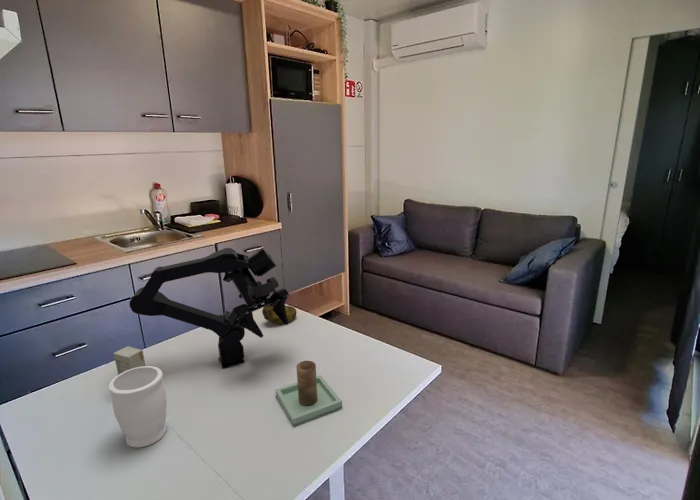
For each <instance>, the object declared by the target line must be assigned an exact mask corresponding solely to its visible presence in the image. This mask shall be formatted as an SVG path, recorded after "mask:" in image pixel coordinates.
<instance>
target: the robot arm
mask: <svg viewBox="0 0 700 500" xmlns="http://www.w3.org/2000/svg"><path fill="white" fill-rule="evenodd" d="M276 267H278V266H277V263H276V262H275V259H274V258H273V257H272V255H270V254H269V253H268V251H266V250H265V248H264V247H261V248H260V249H258V250H257V251H256V252H255V253H253V254H252V255H251V256H248V255H246V254H242V253H239V252H237V251H236V250H235V249H233V248H232V247H226V248H222V249H219V250H217V251H214V252H212V253H211V254H209V255H207V256H204V257H201V258H197V259H192V260H187V261H183V262H182V261H181V262H178V263H173V264H170V265H165V266H157V267H155V268H154V269H153V271H152V273H151V274H150V277H149V279H148V280H147V282H146V283H145V285H144V286H142V287H140V288H138V289H137V290H136V291H135V292H134V295H133V296H132V297H131V299H130V300H129V308H130V309H131V310H130V311H132V313H134V314H136V315H142V316H147V317H154V316H155V317H157V316H164V317H166V318H167V317H168V318H169V319H174V320H177V321H179V322H183V323H187V324H190V325H192V326H196V327H200V328H203V329H207V330H210V331H212V332H213V333H214V334H216V335H217V336H218V343H217V347H218V353H219V354H218V355H219V357H218V361H219V363H220V365H221V368H222V369H228V368H231V367H234V366H238V365H241V364H244V363H245V360H244V359H245V352H244V351H245V350H244V345H243V343H242V342H241V341H242V340H243V339H244V337H245V336H246V335H245V334H246V331H245V330H247V331H249V332H250V333H252V334H254V335H256V336H257V337H259V338H261V339H262V338H263V337H264V334H263V332H262V330H261V328H260V327H259V325H258V324H257V322H256V321H255V319H254V314H253V312H256V311H257V310H260V309H263V308H264V307H265V306H267V305H270V306H273V309H272V310H273V311H274V312H275V314H276V315H277V316H278V317H279V318H280V320H281V321H282V322H283V324H284V325H285V326H288V325H289V322H288V320H287V315H286V311H285V305H286V302H287V300H288V297H289V296H290V293H289V292H288V289H286V288H280V289H278V290H277V289H276V288H278V287H279V282H278V281H277V279H276V277H275V276H273V277H269V278H267V279H266V283H263V284H262V282H261V281H257V280H256V279H255V277H263V276H264V275H266V274H267V273H268V272H270V271H271V270H273V269H275V268H276ZM206 273H207V274H208V273H209V274H210V273H212V274H213V273H214V274H223V273H224V276H223V279H222V280H223V281H224V282H226V283H230V282H232V283H233V284H234V286H235V288H236V289H237V292H238V293H239V295H238V298H239V299H240V300H241V299H243V301H244V302H245V303H243V304H240V305H237V306H235V307H233V309H232V310H231V311H227V310H226V311H225V313H224V314H221V315H220V314H219V315H217V314H216V313H215V314H214V313H211V312H208V311H205V310H202V309H199V308H196V307H193V306H190V305H187V304H184V303H180V302H177V301H174V300H171V299H169V298H168V297H167V296H166V295H165V294H163V293H162V292H161V291H159V290H160V288H161V287H162V286H163V284H164V283H168V282H171V281H176V280H180V279H184V278H189V277H193V276H197V275H202V274H206ZM254 276H255V277H254ZM271 293H272V294H271Z"/></svg>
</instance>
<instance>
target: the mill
mask: <svg viewBox="0 0 700 500" xmlns="http://www.w3.org/2000/svg"><path fill="white" fill-rule="evenodd" d="M295 368H296V379H297V382H298V397H299V403H300V404H301V405H303V406H312V405H314V404H315V403H316V402H317V381H316V376H317V365H316V363H315V362H314V361H312V360H303V361H300V362H299V363H297V364H296V367H295ZM297 382H296V383H297Z"/></svg>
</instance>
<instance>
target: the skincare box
mask: <svg viewBox="0 0 700 500" xmlns="http://www.w3.org/2000/svg"><path fill="white" fill-rule="evenodd" d="M113 357H114V362H115V366H116V371H117V375H119V374H121V373H123V372H125V371H127V370H130V369H133V368H136V367H142V366H147V365H146V361H145V356H144V350H143V349H140V348H137V347H134V346H130V345H127V346H125V347H123V348H121V349H119V350H117V351H115V352H113Z"/></svg>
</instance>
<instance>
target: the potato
mask: <svg viewBox="0 0 700 500" xmlns="http://www.w3.org/2000/svg"><path fill="white" fill-rule="evenodd" d="M272 309H273V306H270V305H267V306H265V307H263V308H262V312H261V313H262V315H263V318H264V319H265V320H266V321H268V322H269V323H277V324H281V325H282V324H284V323H283V322H282V321H281V320H280V318H279V317H278V316H277V315H276V314H275V312H274V311H273V310H272ZM285 311H286V315H287V320H288V323H289V322H291V321H293V320H294V319H295V318H296V317H297V309H296V308H295V307H293V306H291V305H286V304H285Z"/></svg>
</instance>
